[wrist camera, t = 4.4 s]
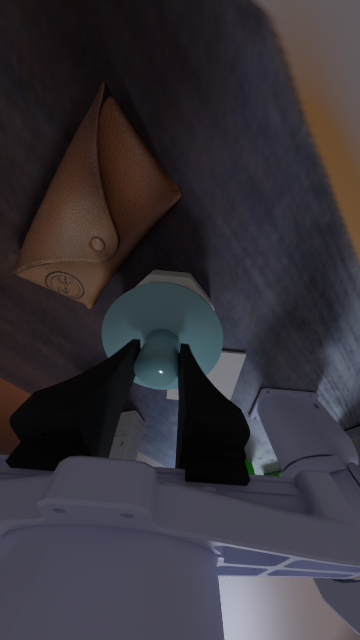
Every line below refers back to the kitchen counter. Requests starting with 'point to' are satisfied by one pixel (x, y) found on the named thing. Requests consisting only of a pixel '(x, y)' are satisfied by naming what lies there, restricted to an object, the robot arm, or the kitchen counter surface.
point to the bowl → (176, 281)
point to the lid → (163, 331)
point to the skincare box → (127, 436)
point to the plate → (222, 374)
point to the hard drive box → (355, 439)
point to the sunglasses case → (95, 206)
